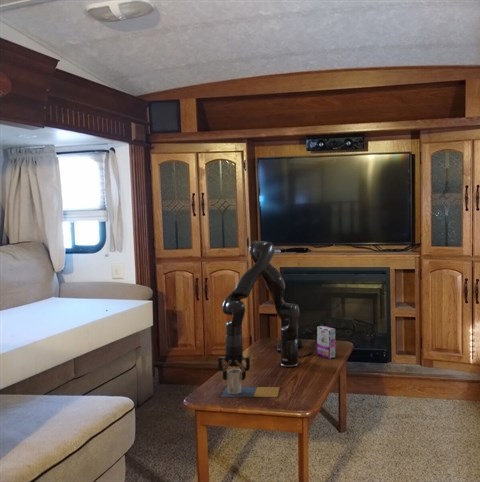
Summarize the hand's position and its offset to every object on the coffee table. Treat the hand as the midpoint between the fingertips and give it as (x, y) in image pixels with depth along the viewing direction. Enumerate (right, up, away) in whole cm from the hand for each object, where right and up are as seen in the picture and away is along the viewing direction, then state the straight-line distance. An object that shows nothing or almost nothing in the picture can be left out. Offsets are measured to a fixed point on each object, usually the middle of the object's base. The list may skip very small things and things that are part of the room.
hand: (234, 379), depth 197 cm
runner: (+7, -6, 0) cm, 9 cm away
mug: (0, -6, -1) cm, 6 cm away
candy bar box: (+42, -3, +53) cm, 68 cm away
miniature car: (+20, -3, +66) cm, 69 cm away
